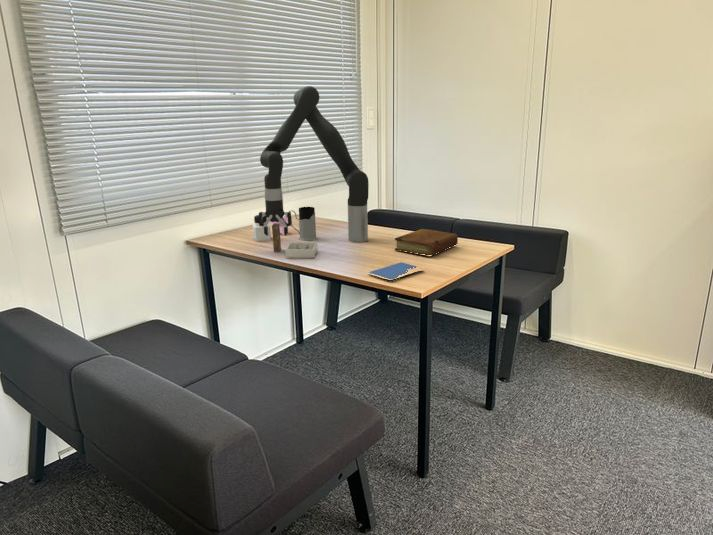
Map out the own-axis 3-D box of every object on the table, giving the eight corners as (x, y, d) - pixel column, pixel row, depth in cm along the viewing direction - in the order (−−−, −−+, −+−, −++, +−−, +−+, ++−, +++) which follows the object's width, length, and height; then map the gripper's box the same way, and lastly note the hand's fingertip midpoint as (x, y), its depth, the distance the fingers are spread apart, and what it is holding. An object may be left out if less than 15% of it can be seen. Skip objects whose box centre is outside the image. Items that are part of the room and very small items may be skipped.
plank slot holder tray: (317, 250, 224) (317, 242, 223) (314, 258, 213) (313, 249, 211) (290, 250, 225) (290, 242, 223) (285, 258, 213) (285, 249, 212)
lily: (266, 232, 258) (264, 218, 251) (285, 223, 264) (283, 208, 257) (281, 244, 252) (279, 229, 245) (299, 233, 258) (298, 219, 251)
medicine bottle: (271, 240, 243) (269, 215, 239) (256, 242, 240) (254, 217, 237) (267, 237, 249) (266, 213, 246) (253, 238, 247) (251, 214, 243)
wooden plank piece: (281, 249, 227) (279, 223, 223) (279, 252, 223) (277, 225, 219) (275, 249, 227) (274, 223, 223) (273, 252, 223) (271, 225, 219)
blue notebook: (401, 264, 204) (401, 261, 204) (425, 271, 196) (425, 268, 195) (367, 275, 192) (366, 272, 192) (391, 283, 183) (391, 279, 183)
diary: (431, 257, 212) (431, 244, 211) (394, 250, 224) (394, 238, 222) (457, 246, 230) (457, 233, 228) (422, 240, 241) (422, 228, 239)
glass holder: (314, 241, 240) (312, 210, 235) (285, 240, 243) (283, 209, 238) (319, 236, 248) (318, 206, 244) (291, 235, 251) (289, 206, 246)
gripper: (291, 196, 221) (293, 233, 226) (259, 197, 222) (262, 233, 227) (288, 199, 214) (290, 237, 219) (255, 200, 215) (258, 237, 220)
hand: (276, 235), depth 223 cm, fingers open, 8 cm apart
